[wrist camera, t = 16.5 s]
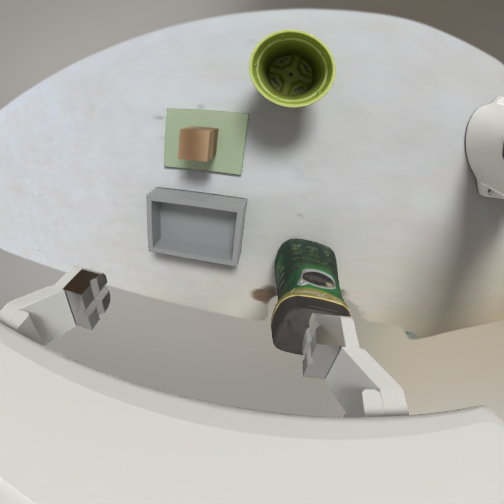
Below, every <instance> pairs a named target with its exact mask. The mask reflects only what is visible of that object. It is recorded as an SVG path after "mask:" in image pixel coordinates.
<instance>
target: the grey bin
mask: <svg viewBox="0 0 504 504" xmlns="http://www.w3.org/2000/svg"><path fill="white" fill-rule="evenodd" d="M246 204H247V199H245V198H238V197H231V196H224V195H217V194H210V193H202V192H194V191H186V190H178V189H169V188H160V187H157V188H155V189H154V190H153V191H151V192H150V193H149V194H147V229H148V248H149V251H151V252H156V253H162V254H167V255H173V256H179V257H184V258H190V259H196V260H201V261H207V262H213V263H219V264H224V265H230V266H236V267H237V264H238V260H239V257H240V253H241V245H242V237H243V229H244V220H245V212H246Z"/></svg>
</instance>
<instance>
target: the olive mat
mask: <svg viewBox="0 0 504 504" xmlns="http://www.w3.org/2000/svg"><path fill="white" fill-rule="evenodd" d="M248 117H249V114H244V113H234V112H223V111H211V110H195V109H167V117H166V132H165V150H164V166H167V167H178V168H188V169H197V170H206V171H215V172H223V173H230V174H238V175H241V173H242V165H243V157H244V149H245V141H246V133H247V125H248ZM191 126H197V127H210V128H219V131H218V140H217V151H216V156H214V157H213V158H212V159H210V160H209V161H208V162H204V161H195V160H184V159H178V149H179V134H180V129H183V128H187V127H191Z"/></svg>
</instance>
